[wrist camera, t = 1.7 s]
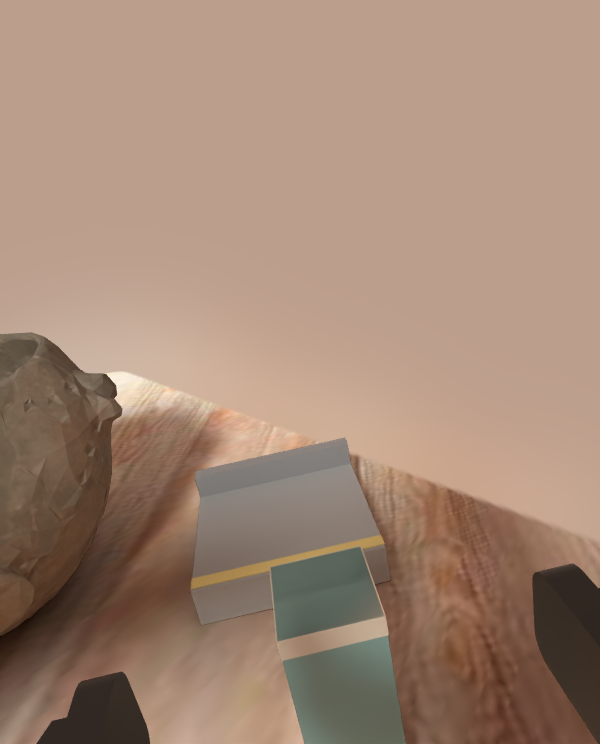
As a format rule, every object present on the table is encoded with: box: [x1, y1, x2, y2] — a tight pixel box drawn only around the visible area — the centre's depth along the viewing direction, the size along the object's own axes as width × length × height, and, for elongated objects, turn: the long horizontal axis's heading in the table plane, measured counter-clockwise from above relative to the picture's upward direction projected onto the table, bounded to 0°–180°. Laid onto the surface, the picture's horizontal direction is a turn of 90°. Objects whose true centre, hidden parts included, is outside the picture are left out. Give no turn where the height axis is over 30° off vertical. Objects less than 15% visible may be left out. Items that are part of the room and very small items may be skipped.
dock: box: [191, 438, 391, 625], centre depth 44 cm, size 14×13×5 cm
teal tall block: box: [269, 546, 406, 744], centre depth 26 cm, size 5×5×12 cm
